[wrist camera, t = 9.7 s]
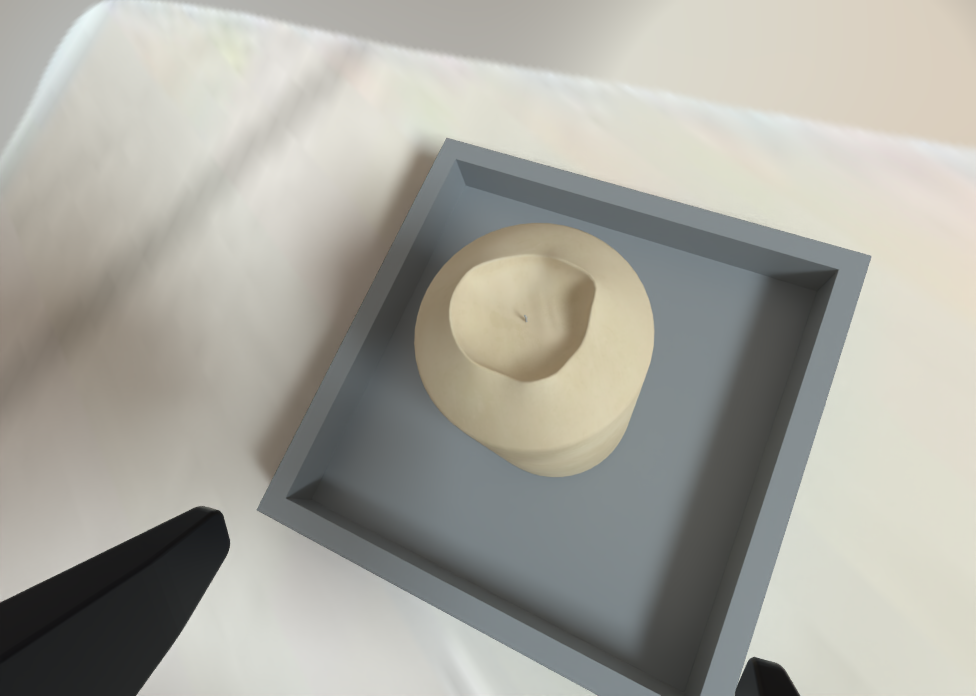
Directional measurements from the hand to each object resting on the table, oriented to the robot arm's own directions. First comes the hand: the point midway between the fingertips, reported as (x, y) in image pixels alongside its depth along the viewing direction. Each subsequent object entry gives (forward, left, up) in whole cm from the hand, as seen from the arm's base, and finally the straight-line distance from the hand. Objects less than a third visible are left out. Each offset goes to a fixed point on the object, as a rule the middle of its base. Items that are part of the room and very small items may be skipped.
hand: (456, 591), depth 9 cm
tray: (+5, +1, -12) cm, 13 cm away
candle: (+5, +1, -11) cm, 12 cm away
